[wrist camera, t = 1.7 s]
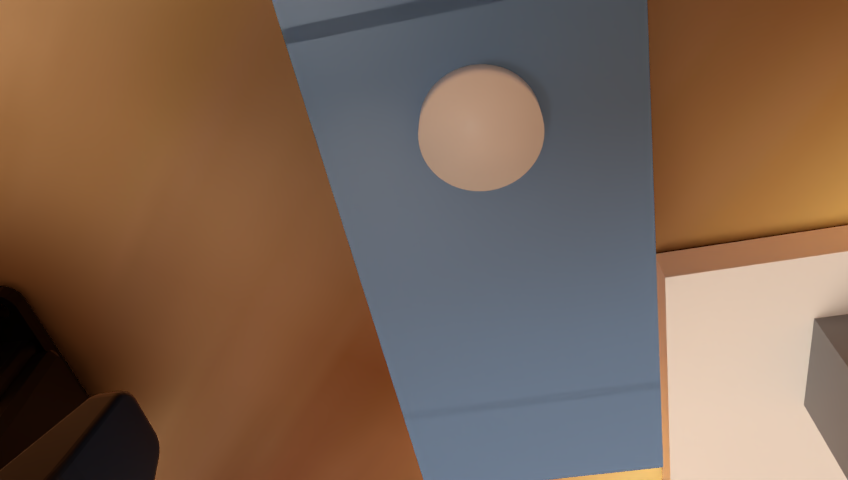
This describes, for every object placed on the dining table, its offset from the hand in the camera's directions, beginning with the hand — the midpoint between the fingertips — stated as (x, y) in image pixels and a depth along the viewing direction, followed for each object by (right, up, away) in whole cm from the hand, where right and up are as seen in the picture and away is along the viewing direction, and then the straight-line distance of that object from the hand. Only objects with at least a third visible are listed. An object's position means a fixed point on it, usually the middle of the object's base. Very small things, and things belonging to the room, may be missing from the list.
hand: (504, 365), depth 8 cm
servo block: (0, +5, +7) cm, 9 cm away
